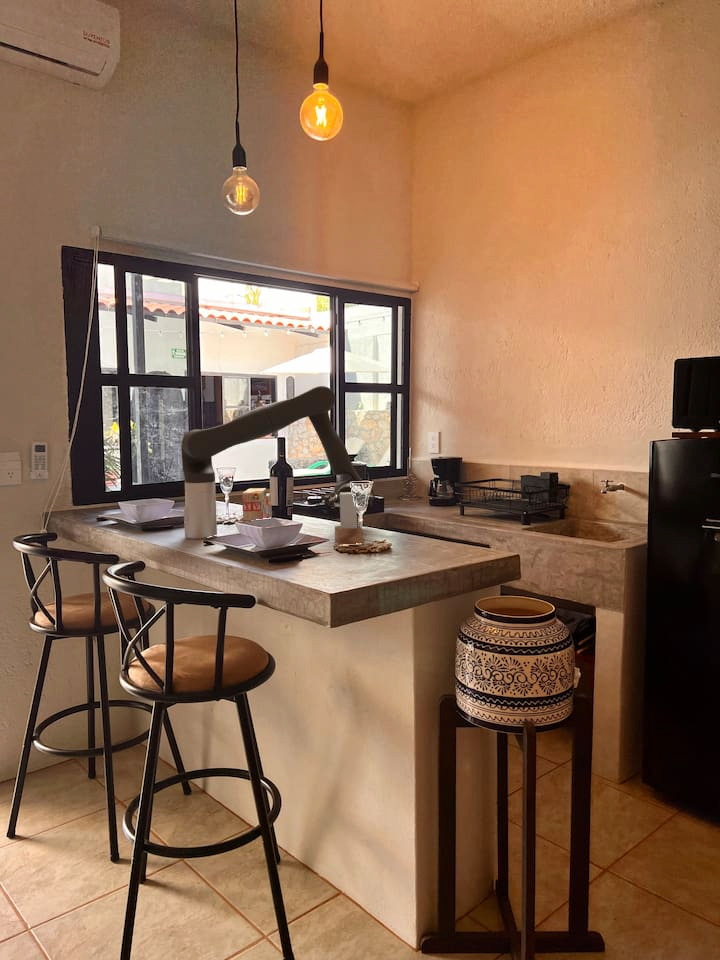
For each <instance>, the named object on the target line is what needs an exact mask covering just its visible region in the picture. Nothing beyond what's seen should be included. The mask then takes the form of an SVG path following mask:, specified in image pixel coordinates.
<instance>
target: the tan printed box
mask: <svg viewBox="0 0 720 960" xmlns="http://www.w3.org/2000/svg"><path fill="white" fill-rule="evenodd" d="M241 495H242V496H241V497H242V523H243V522H247V521H251V520H256V519H263V518H270V517H271V518H272V502H271V499H272V498H271V497H272V496H271V493H267V488H266V487H264V488H263V487H262V488H261V487H260V488H259V487H258V488H256V487H255V488H253V487H252V488H248V489H246V490H245V491H243V492H242V494H241Z"/></svg>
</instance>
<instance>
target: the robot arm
mask: <svg viewBox="0 0 720 960" xmlns="http://www.w3.org/2000/svg"><path fill="white" fill-rule="evenodd" d="M335 402H336V395H335V393H334V391H333V390H332V389H331V388H330V387H328V386H326V385H315V386H314V387H312V388H311V389H308V390H307V391H305V392H303V393H300V394H298V395H296V396H293V397H290V398H287V399H283V400H278V401H275V402H271V403H268V404H264V405H261V406H259V407H256V408H253V409H251V410H248V411H245V412H244V413H242V414H240V415H238V416H236V417H235V418H233V419H231V420H230V421H228V422H226V423H224V424H220V425H218V426H214V427H210V428H209V427H208V428H206V429H192V430H189V431H187V432H186V433H185V434H184V435H183V437H182V440H181V462H182V463H181V464H182V465H181V466H182V473H183V477H184V495H185V496H184V498H185V501H184V502H185V506H184V507H183V520H184V521H183V522H184V523H183V524H184V538H185V539H194V540H195V539H196V540H197V539H199V540H201V538H204V537H209V536H214V535H217V536H218V526H217V523H218V522H217V521H218V520H217V518H218V517H217V496H216V495H217V494H216V472H215V470H214V467H213V461H212V459H213V457H215V456H216V455H217V454H219V453H221V452H223V451H225V450H228V449H230V448H232V447H234V446H237V445H241V444H244V443H245V444H246V443H249V442H251V441H255V440H257V439H261V438H264V437H266V436H269V435H271V434H274V433H276V432H278V431H280V430H283V429H284V428H286V427H288V426H290V425H292V424H293V423H295V422H297V421H299V420H301V419H304V418H308V419H309V421H310V422H311V424H312V426H313V428H314V430H315V432H316V434H317V436H318V438H319V441H320V443H321V446H322V448H323V450H324V453H325V456H326V459H327V461H328V463H329V467H330V469H331V471H332V472H331V473H332V474H333V475H335V476H341V475H347V476H349V477H350V478H349V479H346V480H343V481H341V482H339V483H336V484H335V486H334V496H331V495H330V494H327V495H325V496H323V505H324V506H325V507H328V506H330V507H331V508H335V507H339V508H340V493H341V492H351V488H350V481H363V479H362V478H361V477H360V475H359V473H358V472H357V471H356V469H355V468H354V466H353V463H352V460H351V458H350V455H349V453H348V450H347V448H346V446H345V443H344V442H343V441H342V438H341V437H340V436H339V434H338V432H337V431H336V430H335V428H334V426H333V423H332V421H331V418H330V415H329V412H330V411H331V410H332V409H333V407H334V405H335ZM363 482H364V481H363ZM367 505H368V506H371V507H372V506H373V495H372V494H370V496H369V500H368V504H367ZM204 539H205V538H204Z"/></svg>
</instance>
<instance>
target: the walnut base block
mask: <svg viewBox="0 0 720 960" xmlns="http://www.w3.org/2000/svg"><path fill="white" fill-rule="evenodd" d="M334 543H335V544H336V543H337V544H338V545H340V544H356V543H362V544H363V529H362V527H361V526H360V525H359V524H357V528H356V529H341V525H334ZM337 544H336V545H337Z"/></svg>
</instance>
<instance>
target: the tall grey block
mask: <svg viewBox="0 0 720 960" xmlns="http://www.w3.org/2000/svg"><path fill="white" fill-rule="evenodd" d="M354 501H355V500H354ZM355 508H356V503H355V507H354V502H353V496H352V492H341V493H340V506H339V515H340V526H341V529H356V528H357V525H358V522H357V520H358V519H357V514H358V513H357V508H356V509H355Z"/></svg>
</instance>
